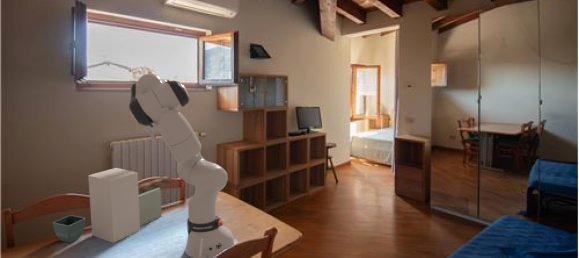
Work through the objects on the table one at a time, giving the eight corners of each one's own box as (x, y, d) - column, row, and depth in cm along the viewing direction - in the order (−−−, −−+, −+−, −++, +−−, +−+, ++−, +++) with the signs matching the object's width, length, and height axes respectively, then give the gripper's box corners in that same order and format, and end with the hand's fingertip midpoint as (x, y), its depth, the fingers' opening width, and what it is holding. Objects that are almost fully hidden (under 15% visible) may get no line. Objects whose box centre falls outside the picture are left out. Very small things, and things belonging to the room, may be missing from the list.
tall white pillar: (119, 223, 172) (116, 167, 167) (139, 230, 166) (137, 172, 161) (92, 235, 160) (88, 175, 155) (113, 242, 154) (110, 180, 149)
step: (149, 213, 185) (148, 185, 182) (161, 216, 182) (160, 188, 179) (125, 224, 172) (124, 194, 169) (137, 227, 168) (135, 197, 166)
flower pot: (87, 236, 158) (85, 217, 157) (70, 245, 150) (68, 226, 149) (71, 233, 161) (69, 214, 159) (53, 242, 152) (51, 222, 151)
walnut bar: (166, 181, 190) (165, 175, 189) (171, 182, 188) (170, 177, 188) (131, 193, 170) (131, 187, 170) (136, 195, 169) (136, 189, 168)
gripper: (169, 109, 191) (169, 134, 194) (139, 112, 173) (140, 140, 175) (179, 110, 189) (179, 135, 191) (149, 113, 170) (149, 141, 173)
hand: (160, 138), depth 183 cm, fingers open, 8 cm apart
